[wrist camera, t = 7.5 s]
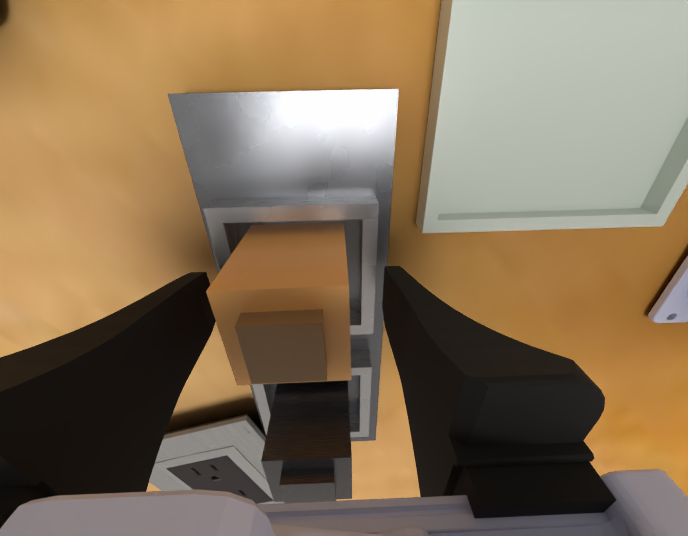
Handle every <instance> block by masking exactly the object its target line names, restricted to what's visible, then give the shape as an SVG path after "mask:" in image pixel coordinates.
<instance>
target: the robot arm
mask: <svg viewBox="0 0 688 536" xmlns="http://www.w3.org/2000/svg"><path fill="white" fill-rule="evenodd" d="M209 286H210V283H209V280H208V277H207V273H206V272H191V273H188V274H186V275H184V276H182V277H180V278H178V279H176V280H174V281H172V282H170V283H169V284H167V285H165V286H163V287H161V288H160V289H158V290H156V291H154V292H153V293H151V294H149V295H147V296H145V297H144V298H142V299H140V300H138V301H136V302H134V303H132V304H130V305H128V306H126V307H125V308H123V309H121V310H119V311H117V312H115V313H113V314H111V315H109V316H107V317H105V318H103V319H100V320H98V321H96V322H94V323H92V324H89V325H87V326H85V327H82V328H80V329H78V330H75V331H73V332H71V333H68V334H65V335H63V336H60V337H57V338H55V339H52V340H50V341H47V342H44V343H42V344H39V345H36V346H34V347H31V348H28V349H25V350H22V351H19V352H16V353H13V354H10V355H7V356H4V357H1V358H0V536H688V497H687V496H686V495H685V494H684V493H683V491H682V490H681V489H680V488H679V487H678V486H677V485H676V484H675V483H674V481H673V480H672V479H671V478H670V477H669V476H668V475H667V474H666V473H665V472H664V471H662V470H659V469H649V470H626V471H614V472H609V473H606V474H604V475H602V476H599V475H598V473H597V472H596V470H595V469H594V468H593V466H592V465H591V463H590V462H589V461H592V460H593V459H594V455H593V453H592V452H591V450H590V449H589V448H588V446H587V445H586V444H585V442H584V441H583V440H584V439H585V437H586V436H587V435H588V433H589V432H590V431H591V429H592V428H593V426H594V425H595V424H596V422H597V421H598V420H599V418H600V416H601V414H602V412H603V410H604V404H605V397H604V395H603V393H602V391H601V390H600V389H599V387H598V386H597V385H596V384H595V383H594V382H593V381H592V380H591V379H590V378H589V377H588V376H587V375H586V374H585V373H584V371H583V370H582V369H581V368H580V367H579V366H578V365H577V364H576V363H575V362H574V361H573V360H571V359H568V358H565V357H562V356H559V355H556V354H553V353H550V352H547V351H544V350H541V349H538V348H535V347H532V346H530V345H527V344H524V343H522V342H519V341H517V340H514V339H512V338H509V337H507V336H505V335H503V334H500V333H498V332H496V331H494V330H492V329H490V328H488V327H486V326H484V325H482V324H479V323H477V322H476V321H474V320H472V319H470V318H468V317H467V316H465V315H463V314H462V313H460V312H458V311H457V310H455V309H453V308H452V307H450V306H449V305H447V304H446V303H444V302H443V301H442V300H440V299H439V298H437V297H436V296H435V295H433V294H432V293H431V292H429V291H428V290H427V289H426V288H424V287H423V286H422V285H421V284H420V283H418V282H417V281H416V280H415V279H414V278H413V277H412V276H410V275H409V274H408V273H407V272H406V271H405V270H404V269H403V268H401V267H400V266H384V283H383V299H382V310H383V316H384V322H385V328H386V331H387V335H388V338H389V342H390V345H391V348H392V352H393V355H394V358H395V362H396V365H397V368H398V372H399V375H400V379H401V383H402V388H403V393H404V398H405V404H406V409H407V414H408V420H409V426H410V431H411V437H412V443H413V449H414V456H415V462H416V468H417V475H418V481H419V488H420V495H421V497H413V498H391V499H369V500H346V501H324V502H302V503H279V504H256V503H255V502H254V501H253V500H250V499H247V498H245V497H242V496H239V495H236V494H233V493H230V492H224V491H211V490H175V491H152V492H146V490H147V486H148V483H149V479H150V476H151V473H152V470H153V467H154V464H155V461H156V458H157V455H158V452H159V449H160V446H161V443H162V440H163V438H164V435H165V432H166V429H167V427H168V424H169V421H170V418H171V416H172V413H173V411H174V408H175V406H176V403H177V401H178V398H179V396H180V393H181V391H182V389H183V387H184V385H185V383H186V381H187V379H188V377H189V375H190V373H191V371H192V369H193V368H194V366H195V364H196V362H197V360H198V358H199V356H200V354H201V352H202V351H203V349H204V347H205V345H206V343H207V341H208V339H209V337H210V335H211V333H212V330H213V327H214V325H215V322H216V320H215V317H214V314H213V311H212V308H211V305H210V302H209V299H208V296H207V293H206V291H207V289H208V288H209ZM648 318H649V319H650V320H652V321H653V322H655V323H675V322H688V255H687V257H686V258H685V260H684V261H683V263H682V264H681V266H680V267H679V269H678V270H677V272H676V273H675V275H674V276H673V278H672V279H671V281H670V282H669V284H668V285H667V287H666V288H665V290H664V291H663V293H662V294H661V296H660V297H659V299H658V300H657V302H656V303H655V305H654V306H653V308H652V309H651V311H650V312H649V314H648Z"/></svg>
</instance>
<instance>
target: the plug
mask: <svg viewBox="0 0 688 536" xmlns="http://www.w3.org/2000/svg"><path fill="white" fill-rule="evenodd" d="M206 293H207V296H208V299H209V302H210V305H211V308H212V311H213V314H214V317H215V320H216V323H217V326H218V329H219V332H220V335H221V338H222V341H223V344H224V347H225V350H226V353H227V356H228V359H229V362H230V365H231V368H232V371H233V374H234V377H235V380H236V383H237V385H257V384H279V383H301V382H323V381H345V380H351V346H350V306H349V280H348V268H347V256H346V243H345V231H344V222H325V223H299V224H274V225H251V227H250V228H249V230H248V231H247V233H246V234H245V235H244V237H243V238H242V240H241V241H240V243H239V244H238V246H237V247H236V249H235V250H234V251H233V253H232V254H231V256H230V257H229V259H228V260H227V262H226V263H225V265H224V266H223V267H222V269H221V270H220V272H219V273H218V275H217V276H216V278H215V279H214V281H213V282H212V283H211V285H210V286H209V288H208V289H207V291H206Z"/></svg>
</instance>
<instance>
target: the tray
mask: <svg viewBox="0 0 688 536" xmlns="http://www.w3.org/2000/svg"><path fill="white" fill-rule="evenodd" d="M687 184H688V0H441V8H440V17H439V25H438V34H437V43H436V51H435V60H434V69H433V78H432V86H431V95H430V104H429V112H428V121H427V130H426V139H425V147H424V156H423V165H422V173H421V182H420V191H419V199H418V208H417V217H416V225H417V226H418V228H419V229H420V231H421V232H422V233H452V232H486V231H519V230H552V229H586V228H619V227H653V226H663V225H664V223H665V222H666V220H667V218H668V217H669V215H670V213H671V212H672V210H673V208H674V206H675V205H676V203H677V201H678V200H679V198H680V196H681V194H682V193H683V191H684V189H685V188H686V186H687Z"/></svg>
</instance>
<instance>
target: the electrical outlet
mask: <svg viewBox="0 0 688 536" xmlns="http://www.w3.org/2000/svg"><path fill="white" fill-rule="evenodd" d="M265 440H266V436H265V435H264V433H263V432H262V431H261V430H260V429H259V428H258V426H257V425H256V424H255V423H254V422H253V420H252V419H251V418H250V417H249V416H248V414H244V415H240V416H236V417H231V418H227V419H223V420H218V421H214V422H210V423H205V424H201V425H197V426H192V427H188V428H184V429H179V430H175V431H171V432H167V433H165V435H164V438H163V440H162V443H161V446H160V449H159V452H158V455H157V458H156V461H155V464H154V467H153V470H152V473H151V476H150V479H149V482H150V483H152V484H153V485H155V486H156V487H157V488H159V489H160V490H162V491H175V490H211V491H224V492H230V493H233V494H236V495H239V496H242V497H245V498H247V499H250V500H253V501H254V502H255V503H256V504H279V503H284V502H274V500H273V497H272V494H271V491H270V488H269V485H268V482H267V478H266V475H265V472H264V469H263V466H262V463H261V459H262V454H263V450H264V445H265Z"/></svg>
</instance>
